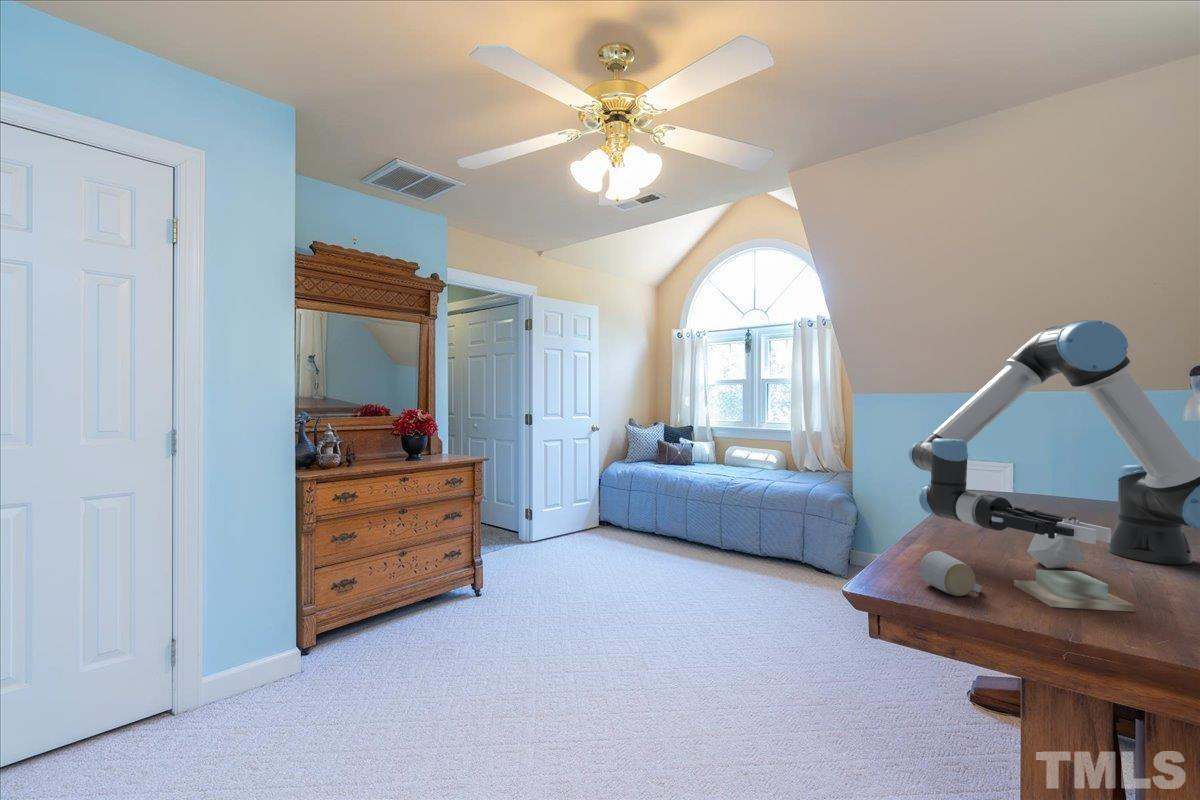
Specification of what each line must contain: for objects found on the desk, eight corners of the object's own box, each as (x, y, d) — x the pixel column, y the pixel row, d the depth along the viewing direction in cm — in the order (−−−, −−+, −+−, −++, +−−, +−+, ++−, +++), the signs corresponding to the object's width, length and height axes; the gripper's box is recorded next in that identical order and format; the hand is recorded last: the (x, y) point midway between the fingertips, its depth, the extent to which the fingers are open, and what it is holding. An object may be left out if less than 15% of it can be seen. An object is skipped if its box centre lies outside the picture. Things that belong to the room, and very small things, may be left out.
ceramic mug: (946, 599, 111) (947, 561, 111) (918, 585, 119) (919, 550, 119) (992, 597, 112) (993, 560, 112) (961, 584, 120) (963, 549, 120)
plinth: (1087, 589, 117) (1088, 569, 117) (1133, 611, 105) (1134, 589, 105) (1014, 585, 119) (1014, 565, 119) (1051, 606, 107) (1051, 584, 107)
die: (1081, 576, 128) (1086, 538, 131) (1047, 557, 128) (1054, 520, 131) (1047, 578, 135) (1053, 542, 139) (1016, 560, 135) (1023, 525, 139)
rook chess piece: (1060, 561, 111) (1061, 520, 111) (1051, 555, 115) (1052, 516, 115) (1088, 564, 109) (1089, 522, 109) (1079, 558, 113) (1080, 518, 113)
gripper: (1011, 525, 132) (1131, 553, 109) (957, 529, 127) (1070, 559, 104) (1012, 493, 131) (1132, 514, 109) (958, 495, 127) (1071, 518, 104)
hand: (1101, 536), depth 107 cm, fingers closed on rook chess piece, 3 cm apart
